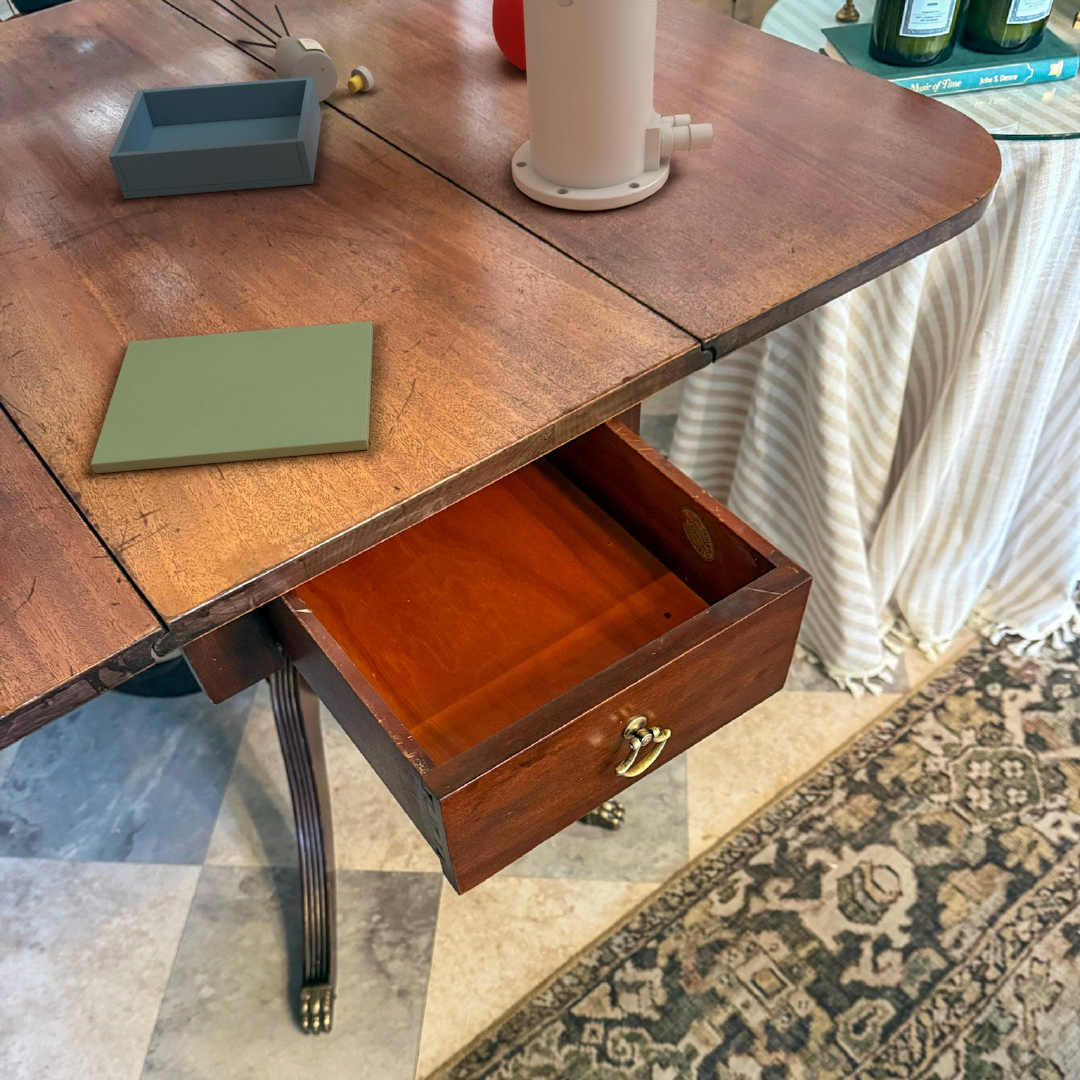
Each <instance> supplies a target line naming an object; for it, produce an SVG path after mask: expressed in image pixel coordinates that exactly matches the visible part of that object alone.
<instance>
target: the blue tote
mask: <svg viewBox="0 0 1080 1080" xmlns="http://www.w3.org/2000/svg"><path fill="white" fill-rule="evenodd" d="M322 117H323V116H322V111H321V107H320V102H319V101H318V96H317V91H316V86H315V81H314V77H301V78H288V79H279V78H278V79H275V78H274V79H265V80H263V79H262V80H250V81H237V82H226V83H211V84H200V85H186V86H174V87H172V86H171V87H163V88H162V87H161V88H146V89H137V90H136V91H135V94H134V97H133V99H132V101H131V103H130V106H129V108H128V110H127V113H126V115H125V117H124V120H123V122H122V125H121V127H120V129H119V130H118V131H119V132H118V133H117V136H116V139H115V141H114V142H113V145H112V147H111V149H110V152H109V155H108V159H109V162H110V164H111V167H112V170H113V172H114V175H115V178H116V180H117V184H118V186H119V189H120V192H121V194H122V197H123V199H125V200H127V199H128V200H129V199H139V198H140V199H141V198H152V197H163V196H177V195H191V194H202V193H214V192H215V193H216V192H227V191H238V190H239V191H240V190H241V191H242V190H251V189H252V190H253V189H264V188H278V187H288V186H289V187H290V186H303V185H313V183H314V177H315V172H316V171H315V170H316V162H317V154H318V148H319V147H318V146H319V140H320V133H321V125H322V119H323V118H322Z"/></svg>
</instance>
